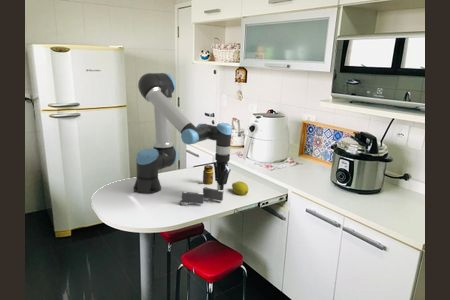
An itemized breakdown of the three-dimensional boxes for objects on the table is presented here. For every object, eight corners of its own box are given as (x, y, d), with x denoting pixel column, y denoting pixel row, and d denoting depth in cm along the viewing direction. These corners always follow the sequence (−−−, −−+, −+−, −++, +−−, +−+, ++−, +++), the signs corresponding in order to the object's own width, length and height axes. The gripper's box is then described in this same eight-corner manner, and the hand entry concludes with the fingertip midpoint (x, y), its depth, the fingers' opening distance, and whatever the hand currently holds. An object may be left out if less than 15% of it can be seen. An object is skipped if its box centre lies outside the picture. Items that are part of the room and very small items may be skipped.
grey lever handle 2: (199, 199, 172) (199, 188, 170) (202, 196, 176) (203, 185, 175) (220, 204, 169) (221, 192, 167) (223, 200, 173) (224, 189, 171)
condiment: (215, 186, 196) (216, 167, 193) (203, 188, 191) (204, 169, 188) (209, 182, 202) (210, 163, 198) (197, 184, 197) (198, 165, 194)
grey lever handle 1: (178, 205, 164) (179, 193, 162) (180, 201, 169) (181, 189, 167) (202, 207, 164) (202, 195, 162) (203, 203, 168) (204, 191, 167)
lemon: (251, 196, 184) (252, 183, 181) (240, 199, 179) (242, 186, 177) (238, 190, 192) (239, 177, 189) (228, 193, 187) (229, 180, 185)
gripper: (209, 150, 170) (207, 191, 177) (223, 157, 160) (220, 201, 167) (221, 149, 175) (219, 189, 181) (235, 155, 164) (232, 198, 171)
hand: (219, 194), depth 174 cm, fingers closed
